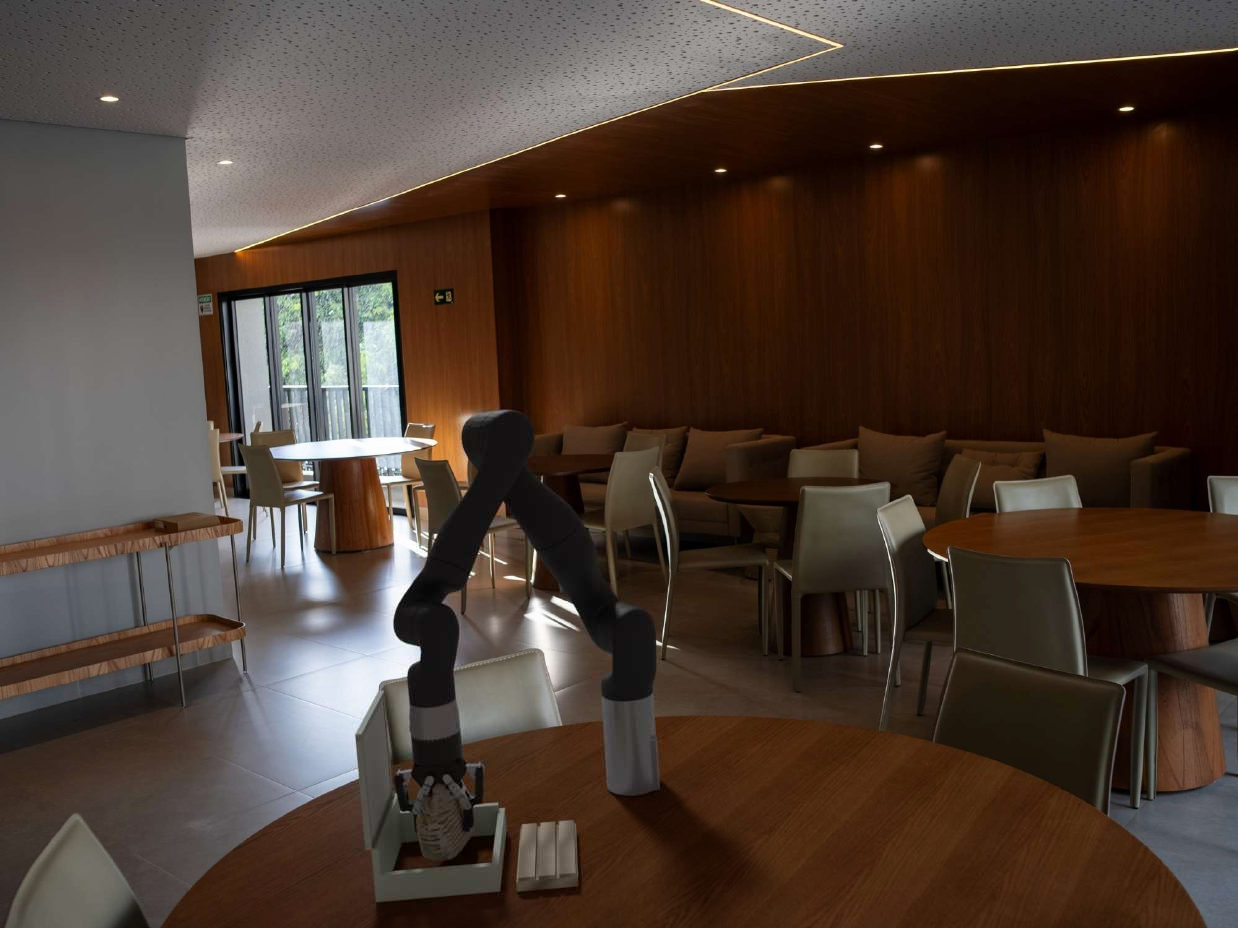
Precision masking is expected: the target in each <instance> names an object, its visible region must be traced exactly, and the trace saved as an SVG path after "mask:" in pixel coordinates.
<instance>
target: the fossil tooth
mask: <svg viewBox="0 0 1238 928" xmlns="http://www.w3.org/2000/svg"><path fill="white" fill-rule="evenodd" d="M445 787H446V784H440V783H436V785H435V786H434V787H433V789H432V792H433V795H430V794H429V793H428V795H427V797H424V798H423V799H422V802H423V803H422V805H421V806H420V809H421V810H420V811H419V813H418V815H417V819H416V824H417V826H416V829H417V834H418V840H419V841H418V844H419V847H420V853H421V855H422V857H424V858H426V859H428V860H432V861H449V860H452V859H454V858H455V857H457V856H458V855H459V853H460V852H461V851H462V850H463V849H464V847H465V846H466V845H467V842H469V840H470V839H471V835H472V834H473V833H474V829H473V828H470V832H465V828H464V818H463V806H462V804H461V803H460V801H459V800H458V799H456V797H455V796H454V794H453V793H452V792H451V790H450V788H449V789H447V788H445ZM473 827H474V825H473Z"/></svg>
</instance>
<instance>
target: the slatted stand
mask: <svg viewBox="0 0 1238 928" xmlns="http://www.w3.org/2000/svg"><path fill="white" fill-rule="evenodd" d="M576 824H577V823H575V821H574V819H572V820H570V819H569V820H559V821H558V824H556V821H548V822H547V821H546V822H540V826H538V823H537V822H535V823H523V824H521V827H520V828H519V829H520V831H519V842H518V843H519V844H518V855H517V856H518V857H517V868H516V869H517V871H516V892H528V891H529V892H530V891H539V890H550V889H551V890H552V889H563V888H573V887H579V886H580V885H579V870H578V869H579V867H578V866H579V865H578V842H577V841H578V839H577V825H576Z"/></svg>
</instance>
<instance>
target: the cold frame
mask: <svg viewBox="0 0 1238 928" xmlns="http://www.w3.org/2000/svg"><path fill="white" fill-rule="evenodd" d="M386 707H387V706H386V697H385V690H378V691H377V692H376V695H375V697H374V698H373V700H372V702H371V704H370V706H369V708H368V710H367V712H366V714H365V715H364V717H363V719H362V721H361V723H360V725H359V727H358V728H357V730H356V732H355V734H354V736H355V737H354V738H355V747H356V750H355V751H356V758H357V759H356V761H357V769H358V783H359V792H360V793H359V794H360V804H361V805H360V806H361V815H362V817H361V818H362V827H363V837H364V848H365V851H371V861H372V872H373V873H372V874H373V883H374V885H373V886H374V893H375V894H374V895H375V903H383V902H385V903H386V902H392V901H393V902H394V901H405V900H416V899H417V900H418V899H430V898H438V897H439V898H441V897H449V896H450V897H453V896H463V895H472V894H473V895H476V894H484V893H485V894H487V893H497V892H498V893H499V892H501V886H502V878H503V876H502V875H503V868H504V858H505V857H504V856H505V849H506V848H505V847H506V839H507V838H506V837H507V822H506V821H507V820H506V807H500V808H499V802H488V803H482V804H480V805H478V804H477V805H475V806H474V807H473V812H474V827H473V829H474V833H473V834H472V835H471V837H473V838H474V837H484V836H494V843H493V851H492V857H491V858H492V859H491V862H484V863H473V864H461V865H460V864H459V865H449V866H439V867H425V868H424V867H423V868H416V869H415V868H414V869H413V868H412V869H402V870H394V868H395V865H396V862H397V859H398V857H399V853H400V850H401V846H402V844H404V843H411V842H413V843H414V842H419V840H418V834H417V833H416V832H415V826H414V817H413V814H412V813H411V812H409V811H406V812H402V811H401V810H400V807H399V802H398V797H397V793H396V792H395V790H394V789H393V780H392V778H393V777H392V768H391V767H392V765H391V755H390V742H389V731H388V730H389V729H388V721H387V708H386ZM471 837H470V838H471Z"/></svg>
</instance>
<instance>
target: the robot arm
mask: <svg viewBox="0 0 1238 928" xmlns="http://www.w3.org/2000/svg"><path fill="white" fill-rule="evenodd" d="M460 436H461V439H460V441H461V446H462V449H463V452H464V453H465V456H466V457H467V459H468V461H469V462H470V464H472V466H473V467H474V468H475V469H476V470H477V473H476V475H475V477H474V478H473V481H472V482H471V484H470V486H469V488H468V489H467V491H466V492H465V493H464V495H463V496H462V498H461V499H460V500H459V502H458V503H457V504H456V505H455V507H454V508H453V509H452V511H451V512H450V513H449V515H448V516H447V517H446V518H445V520H444V522H443V523H442V525H441V527H440V528H439V529H438V532H437V535H436V536H435V539H434V541H433V544H432V546H431V549H430V551H429V553H428V555H427V558H426V560H425V562H424V566H423V567H422V570H421V571H420V572H419V573H418V575H416V577H415V579H414V580H413V581H412V582H411V584H410V586H409V587H408V588H407V589H406V592H405V593H404V594H403V596H402V597H401V599H400V600H399V602H398V604H397V606H396V608H395V611H394V616H393V620H392V625H393V626H392V627H393V632H394V634H395V636H396V637H397V639H398V640H400V641H401V642H402V643H405V644H407V645H411V646H415V647H418V648H420V656H419V657H420V658H419V661H415V662H414V663H412V664H411V665H410V666H409V668H408V669H407V673H406V674H407V675H406V678H407V680H406V681H407V689H408V690H407V692H408V700H409V701H408V702H409V715H408V719H409V721H408V722H409V727H408V728H409V732H410V739H411V742H410V743H411V751H412V759H413V762H412V763H413V765H412V768H410V769H405V770H404V769H403V768H398V769H397V770H396V771H395V774H394V776H393V783H394V787H395V791H396V792H395V793H397V797H398V802H399V807H400V811H402V812H406V811H409V812H411V813H412V814H413V817H414V826H415V832H416V833H417V829H416V826H417V824H416V819H417V815H418V813H419V811H420V810H421V809H420V806H421V805H422V803H423V802H422V799H423V798H424V797H427V795H428V794H430V795H433V792H432V789H433V787H434V786H435V785H436V783H440V784H446V787H445V788H447V789H449V788H450V790H451V792H452V793H453V794H454V796H455V797H456V799H458V800H459V801H460V803H461V804H462V806H463V818H464V828H465V832H470V828H473V825H474V812H473V807H474V806H475V805H477V804H478V805H480V804H483V802H484V801H483V800H484V797H485V796H484V795H485V762H484V761H482V760H480V761H477V763H467V761H466V759H464V753H463V751H464V750H463V741H462V731H461V721H460V720H461V719H460V711H459V707H458V702H457V697H456V694H457V693H456V683H455V675H454V669H455V664H456V660H457V655H458V654H457V653H458V646H459V641H460V625H459V623H460V622H459V620H458V617H457V614H456V612H455V611H454V609H453V608H451V607H450V606H449V605H447V604H445V603H443V602H444V601H445V599H446V597H447V596H449V595H450V594H453V593H457V592H460V591H462V590H463V589H464V588H465V587H466V584H467V582H468V581H469V577H470V575H471V573H472V570H473V568H474V565H475V562H476V560H477V557H478V555H479V552H480V551H481V550H480V549H481V547H482V545H483V543H484V540H485V538H486V536H487V533H488V531H489V529H490V528H491V525H492V523H493V522H494V520H495V517H496V515H497V514H498V512H499V510H500V508H501V506H502V505H503V504H504V505H505V507H506V508H507V510H508V511H509V513H510V514H511V515H512V517H513V519H514V520H515V522H517V524H518V526H519V527H520V529H521V530H522V532H523V533H524V535H525V536H526V538H527V539H528V541H529V543H530V544H531V546H532V548H533V549H534V550H535V552H536V553H537V555H538V557H539V558H540V559H541V561H542V563H544V565H545V567H546V568H547V569H548V571H550V573H551V574H552V576H553V577H554V579H555V581H557V583H558V585H559V586H560V587H561V589H562V590H563V592H564V593H565V594H566V595H567V597H568V598H569V600H570V601H571V603H572V605H573V606H574V608H575V611H576V612H577V614H578V616H579V618H580V620H581V621H582V624H583V626H584V628H585V629H586V631H587V634H588V636H589V638H591V640H592V642H593V643H594V645H596V647H598V648H599V649H600V650H601V651H604V652H605V653H608V654H611V655H612V656H611V657H612V660H611V661H612V662H611V664H612V666H611V667H612V668H611V670H612V671H611V672H610V673H607V674H606V675H603V677H602V679H601V681H600V692H601V705H602V706H601V707H602V723H603V725H602V726H603V738H604V756H605V757H604V758H605V769H606V770H605V771H606V773H605V775H606V785H607V786H606V787H607V790H608V791H610V792H612V793H613V794H615V795H618V796H619V795H620V796H627V797H633V796H634V797H635V796H642V795H646V794H649V793H651V792H653V791H659V790H661V789H660V788H661V787H660V771H659V769H660V768H659V767H660V766H659V751H658V739H657V734H656V720H655V719H656V718H655V703H654V699H655V698H654V681H655V678H656V675H657V665H658V664H657V662H658V661H657V631H656V629H657V628H656V623H655V622H654V619H653V616H652V615H651V614H650V613H649V612H648V611H647V610H646V609H643V608H642V607H639V606H636V605H633V604H629V603H625V602H623V601H622V600H620V598H619V597H618V596H617V595H616V594H615V593H614V592H613V590H612V589H611V587H610V586H609V585H608V583H607V582H606V581H605V579H604V577H603V575H602V573H601V571H600V568H599V561H598V555H597V549H596V545H595V543H594V540H593V538H592V536H591V533H590V532H589V531H588V529H587V527H586V525H584V522H583V521H582V520H581V518H580V517H579V515H578V513H577V512H576V511H575V510H574V509H573V508H572V506H571V505H570V504H569V503H567V502H566V500H564V499H563V498H562V497H561V496H560V495H558V494H557V493H556V492H555V491H553V490H552V489H551V488H549V486H547V485H546V484H544V483H543V482H542V481H541V480H540V479H538V478H537V476H536V475H535V474H534V473H533V472H532V471H531V469H530V468H529V467H528V466H527V464H526V463H527V461H528V459H530V456H531V454H532V451H533V448H534V445H535V440H536V439H535V438H536V437H535V436H536V435H535V429H534V426H533V423H532V422H531V420H530V419H529V418H528V417H527V416H526V414H525V413H523V412H520V411H517V410H515V409H514V410H513V409H499V410H493V411H486V412H485V411H484V412H480V413H477V414H475V415H472V416H471V417H469V418H468V419H467V420H466V421H465V422H464V424H463V426H462V430H461V435H460ZM466 773H469V775H470V778H471V779H473V780H474V793H473V794H471V793H470V792H469V790H468V789H467V786H466V784H465V783H464V782H463V778H464V777H465V775H466ZM411 778H412V779H413V780H414V781H415V782H416V783H417V784H418V786H419V787H420V789H419V790H418V793H417V795H416V798H415V800H413V799H410V795H409V790H408V785H409V782H410V781H411V780H410V779H411Z"/></svg>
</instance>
